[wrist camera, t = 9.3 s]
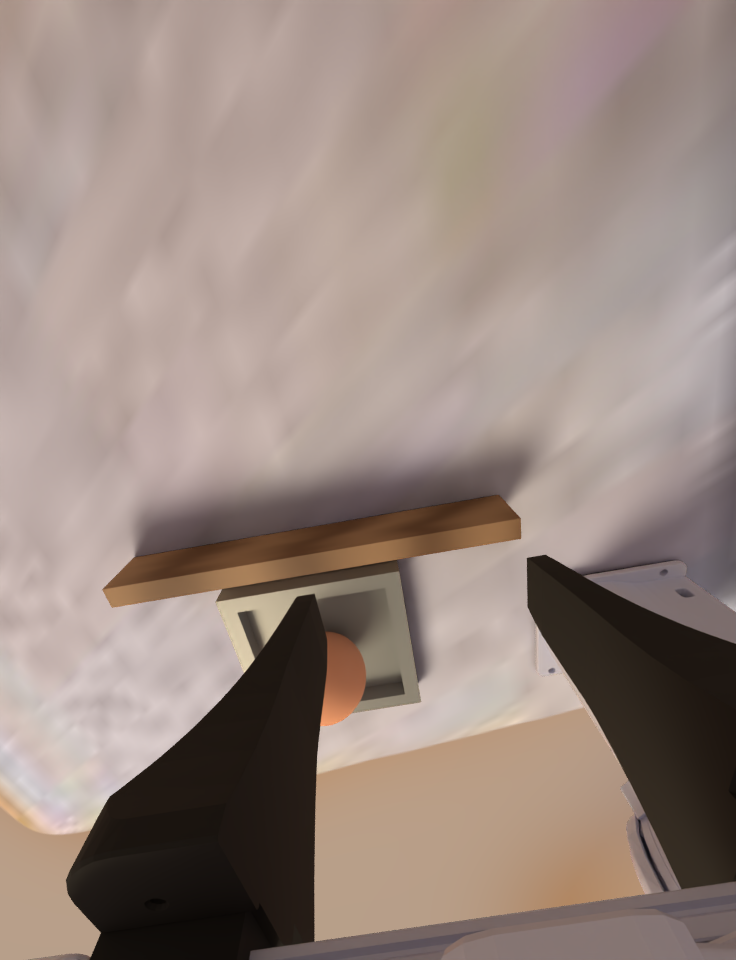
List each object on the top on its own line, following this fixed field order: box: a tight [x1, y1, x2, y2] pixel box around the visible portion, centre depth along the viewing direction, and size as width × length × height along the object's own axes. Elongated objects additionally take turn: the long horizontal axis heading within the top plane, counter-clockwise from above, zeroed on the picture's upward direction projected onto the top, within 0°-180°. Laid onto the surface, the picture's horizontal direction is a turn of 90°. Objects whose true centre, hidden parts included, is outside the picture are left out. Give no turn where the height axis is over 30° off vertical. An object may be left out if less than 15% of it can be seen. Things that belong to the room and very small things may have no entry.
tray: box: [216, 560, 421, 713], centre depth 24 cm, size 11×11×1 cm
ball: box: [320, 632, 366, 726], centre depth 22 cm, size 5×5×5 cm
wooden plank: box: [102, 495, 521, 608], centre depth 21 cm, size 22×1×3 cm, turn 100°
